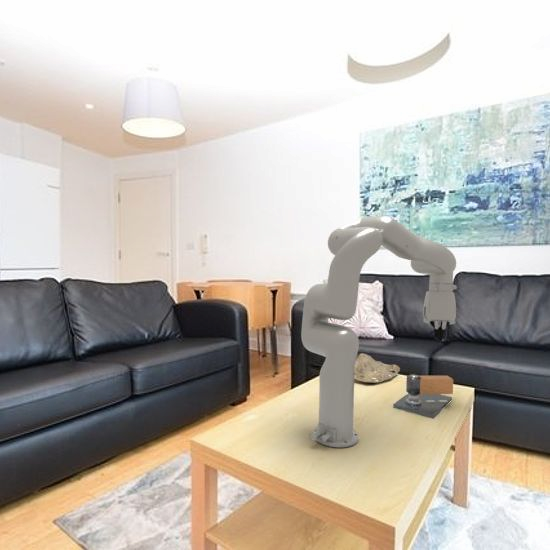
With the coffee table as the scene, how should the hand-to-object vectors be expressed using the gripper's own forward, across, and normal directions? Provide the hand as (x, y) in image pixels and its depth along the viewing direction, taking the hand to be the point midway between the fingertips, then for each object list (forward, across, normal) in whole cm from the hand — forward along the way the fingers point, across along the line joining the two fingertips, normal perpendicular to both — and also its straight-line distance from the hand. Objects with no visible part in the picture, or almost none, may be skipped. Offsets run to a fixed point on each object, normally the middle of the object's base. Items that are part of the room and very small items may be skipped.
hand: (438, 339), depth 135 cm
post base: (+22, +6, +5) cm, 23 cm away
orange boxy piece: (+17, +5, +6) cm, 19 cm away
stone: (+22, +17, -25) cm, 37 cm away
